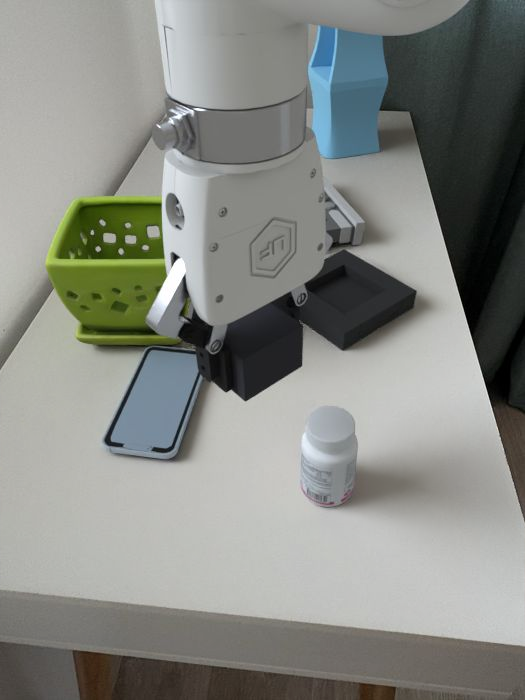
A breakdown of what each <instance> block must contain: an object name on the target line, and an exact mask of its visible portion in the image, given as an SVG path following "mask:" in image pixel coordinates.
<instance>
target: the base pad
mask: <svg viewBox="0 0 525 700" xmlns="http://www.w3.org/2000/svg"><path fill="white" fill-rule="evenodd" d="M306 291H307V294H308V296H307V300H306V301H305V303H304V304H303V305H301V306H299V309H300V319H299V322H302V324H303V325H306V326H307V327H308V328H310V329H311V330H313V331H314V332H316V333H317V334H318V335H320V336H321V337H323V338H324V339H326V340H327V341H328V342H330V343H331V344H333V345H334V346H335V347H337V348H338V349H339V350H341V351H345V350H347V349H348V348H350V347H352V346H353V345H355V344H357V343H358V342H360V341H361V340H363V339H365V338H366V337H368V336H370V335H371V334H373V333H375V332H376V331H378V330H380V329H381V328H383V327H384V326H386V325H387V324H389V323H391V322H392V321H394V320H396V319H397V318H399V317H401V316H402V315H404V314H405V313H407V312H409V311H410V310H412V309H414V308H415V302H416V297H417V291H418V290H416V289H414V288H413V287H411V286H410V285H408V284H406V283H404V282H403V281H401V280H399V279H397V278H396V277H394V276H392V275H390V274H389V273H387V272H385V271H383V270H382V269H380V268H378V267H376V266H374V265H373V264H371V263H370V262H368V261H366V260H364V259H362V258H361V257H359V256H358V255H355V254H353V253H352V252H350V251H348V250H346V249H345V248H344V249H342V250H339V251H338V252H335V253H333V254H332V255H330V256H328V257H325V259H324V264H323V267H322V269H321V270H320V272H319V273H318V274H317V275H316V276H315V277H313V278H312V280H311V281H310V283H309V285H308V286H307V288H306Z"/></svg>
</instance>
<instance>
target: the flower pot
mask: <svg viewBox="0 0 525 700" xmlns="http://www.w3.org/2000/svg"><path fill="white" fill-rule="evenodd" d="M100 221H103V222H104V223H105V224H104V225H103V224H102V223H101V222H100ZM126 224H130V226H129V227H127V225H126ZM149 227H157V228H158V231H159V236H153V237H152V236H151V237H150V236H149V233H148V228H149ZM56 229H57V230H56V232H55V234H54V236H53V238H52V241H51V243H50V246H49V249H48V251H47V255H46V259H45V263H44V266H45V269H46V272H47V275H48V277H49V280H50V282H51V284H52V286H53V288H54V290H55V293H56V295H57V296H58V298H59V299H60V301H61V302H62V304H63V305H64V307H65V308H66V309H67V310H68V312H69V313H70V315H72V316H73V317H74V318H75V319H76V320H77V321H78V326H77V329H76V331H75V339H76V340H77V341H79V342H81V343H83V344H86V345H95V346H97V345H98V346H173V345H176V344H178V343H180V342H181V341H182V340H181V339H177V338H176V339H174V338H170V337H166V336H162V335H159V334H157V333H156V332H155V331H154V330H152V329H151V328H150V327H149V326H148V325H147V324H146V322H145V319H146V316H147V314H148V313H149V311H150V309H151V307H152V305H153V303H154V301H155V299H156V297H157V295H158V294H159V292H160V290H161V288H162V286H163V284H164V282H165V280H166V278H167V272H166V265H165V256H164V246H163V231H162V195H98V196H80V197H76V198H74V199H73V200H72V201H71V203H70V205H69V206H68V208H67V210H66V212H65V213H64V215H63V217H62V219H61V220H60V223H59V225H58V227H57V228H56ZM91 231H92V232H93V234H92V232H91ZM104 234H110V235H111V234H113V235H115V242H107V241H104ZM127 236H132V237H135V240H136V241H135V242H134V243H129V242H128V243H127V242H126V237H127ZM144 246H147V247H148V248H147V249H143V247H144ZM97 247H99V248H100V250H99V251H97V249H96V248H97ZM119 250H122V251H123V252H122V254H121V253H120V252H119ZM190 299H191V298H190V297H188V299H187V301H186V303H185V304H184V306H183V308H182V310H181V312H180V314H179V315H182V316H185V317H187V315H188V310H189V304H190Z"/></svg>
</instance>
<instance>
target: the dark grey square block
mask: <svg viewBox="0 0 525 700" xmlns="http://www.w3.org/2000/svg"><path fill="white" fill-rule="evenodd" d="M205 325H209V324H208V323H207V322H205ZM224 343H226V344H227V345H228V346H229V347H230V348H231V361H232V374H233V389H232V390H231V391H232V393H234V394H236V395H237V396H238V397H239V398H240V399H241V400H242V401H244V402H247V401H250V400H251V399H253V398H254V397H256V396H257V395H259V394H261V393H262V392H263V391H266V390H268V388H270V387H271V386H273V385H275V384H276V383H278V382H279V381H281V380H283V379H284V378H286V377H287V376H289V375H291V374H292V373H294V372H296V371H297V370H299V369H300V368H302V367H303V360H304V359H303V355H304V353H303V351H304V323H301V321H299V322H298V321H297V320H295V319H294V318H292V317H291V316H289V315H288V314H287V313H285V312H284V311H282V310H281V309H279V308H278V307H276V306H275V305H273V304H272V303H268V304H266V305H264V306H262V307H260V308H259V309H257V310H255V311H253V312H251V313H249V314H247V315H245V316H243V317H242V318H240V319H237V320H235V321H233V322H231V323H229V324H228V326H227V331H226V335H225V339H224Z"/></svg>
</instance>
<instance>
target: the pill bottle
mask: <svg viewBox="0 0 525 700" xmlns="http://www.w3.org/2000/svg"><path fill="white" fill-rule="evenodd" d="M300 444H301V446H300V479H299V481H300V489H301V491H302V494H303V495H304V497H305V498H306V500H308V501H309V502H311V503H312V504H314V505H316V506H319V507H324V508H332V507H336V506H339V505H342V504H343V503H345V502H346V501H347V500H348V499H350V497H351V495H352V494H353V491H354V488H355V487H354V486H355V479H356V469H357V458H358V451H359V441H358V437H357V435H356V420H355V418H354V416H353V415H352V414H351V413H350V412H349V411H348V410H346V409H344V408H342V407H340V406H337V405H322V406H319V407H317V408H315V409H313V410H312V411H310V412H309V414H308V415H307V417H306V421H305V431H304V432H303V434H302V437H301V441H300Z"/></svg>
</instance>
